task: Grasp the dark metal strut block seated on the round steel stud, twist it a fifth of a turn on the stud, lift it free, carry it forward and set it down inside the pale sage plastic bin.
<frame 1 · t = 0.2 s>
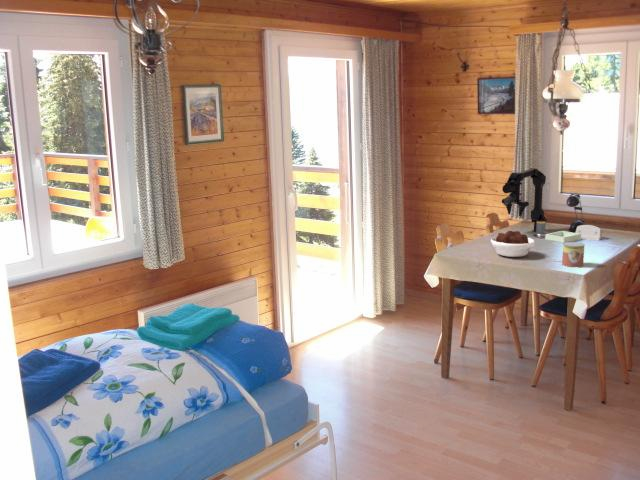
hand: (514, 215, 479), 14 cm above the table, fingers open, 9 cm apart
canned food: (572, 265, 403), on the table
stud: (540, 236, 480), on the table
white arched block: (587, 239, 474), on the table
strut: (540, 233, 480), point 2 cm above the table, touching stud
bowl of brown food: (511, 255, 427), on the table
bin: (562, 240, 469), on the table
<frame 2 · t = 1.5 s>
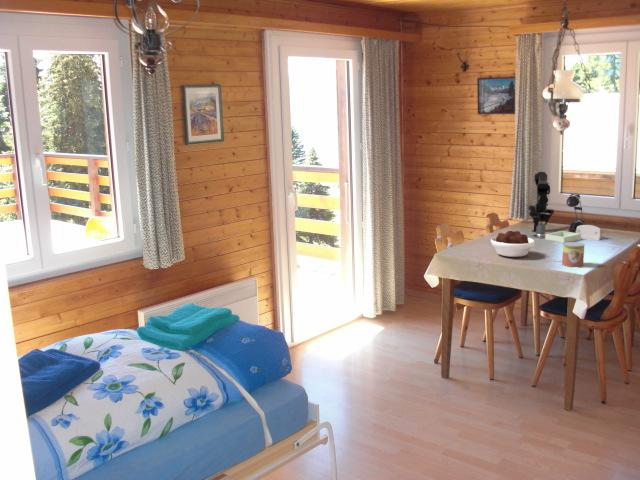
hand: (540, 225, 479), 8 cm above the table, fingers open, 9 cm apart
nothing on the table moved.
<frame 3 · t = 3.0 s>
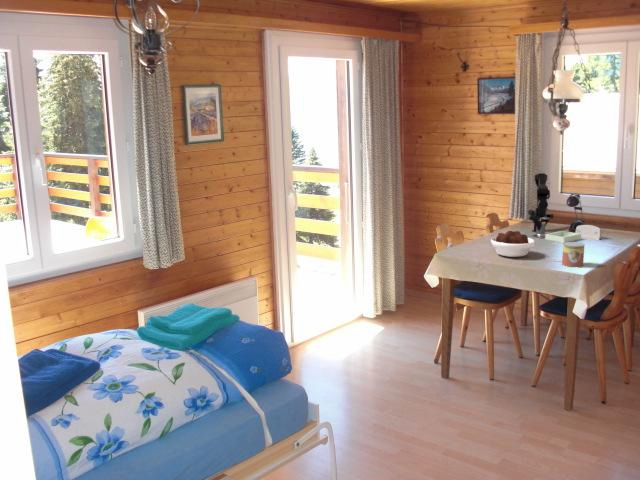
hand: (540, 229, 479), 5 cm above the table, fingers closed on strut, 4 cm apart
strut: (540, 233, 480), point 2 cm above the table, touching gripper, stud
everything else where it was.
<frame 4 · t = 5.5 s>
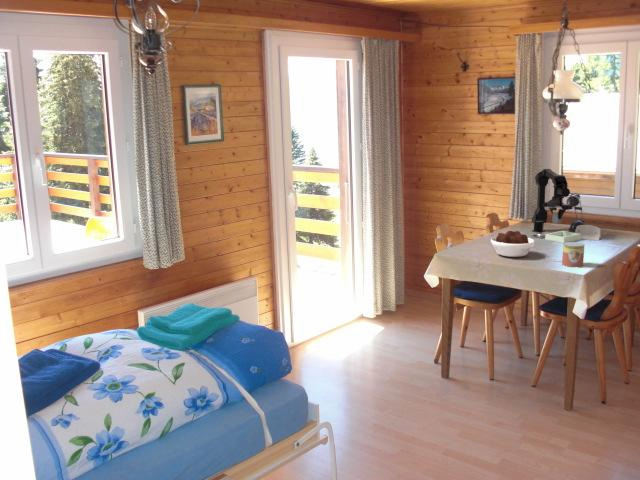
hand: (557, 218, 470), 13 cm above the table, fingers closed on strut, 4 cm apart
strut: (556, 222, 470), point 11 cm above the table, touching gripper
everything else where it was.
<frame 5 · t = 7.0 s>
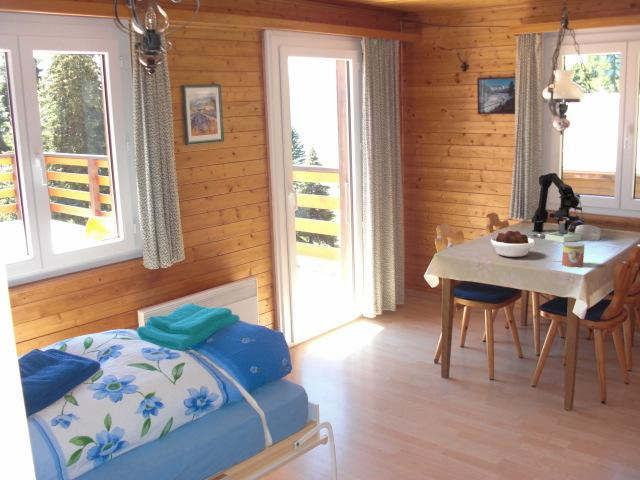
hand: (563, 229, 468), 7 cm above the table, fingers closed on strut, 4 cm apart
strut: (563, 233, 468), point 4 cm above the table, touching gripper
everything else where it was.
when the fingers open (5 cm above the table, at t = 8.1 s): strut drops 2 cm, resting on bin.
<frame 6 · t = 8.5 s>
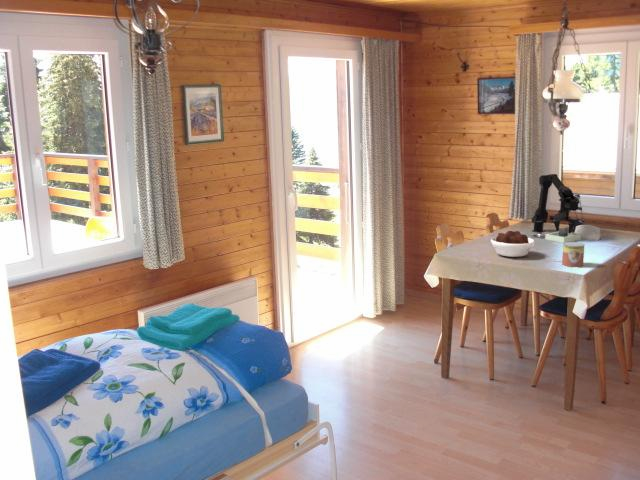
hand: (563, 232, 468), 5 cm above the table, fingers open, 9 cm apart
strut: (562, 238, 469), point 1 cm above the table, touching bin
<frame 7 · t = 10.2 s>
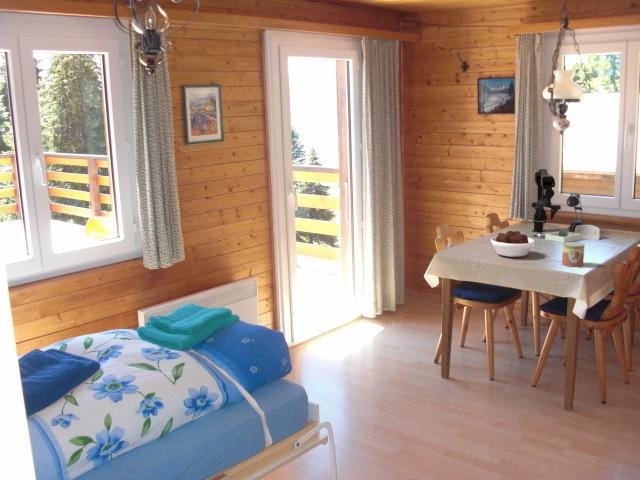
hand: (545, 218, 474), 13 cm above the table, fingers open, 9 cm apart
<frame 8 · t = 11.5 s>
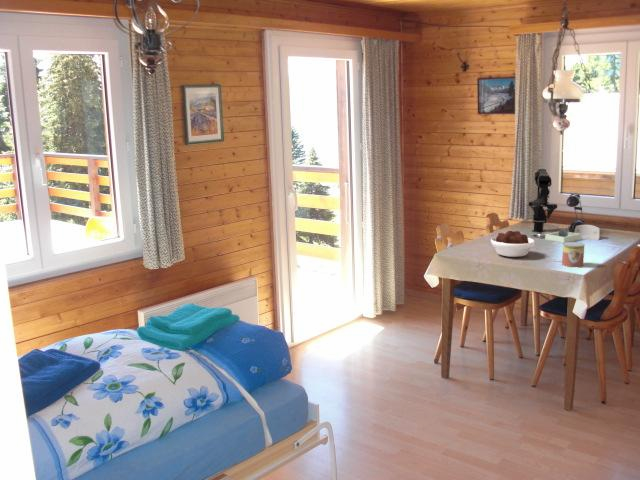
hand: (542, 218, 475), 13 cm above the table, fingers open, 9 cm apart
at the end: strut inside the target area on the bin (0.1 cm from its centre), point 0.8 cm above the bin's base; the gripper is holding nothing; strut moved 16.1 cm from its start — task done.
